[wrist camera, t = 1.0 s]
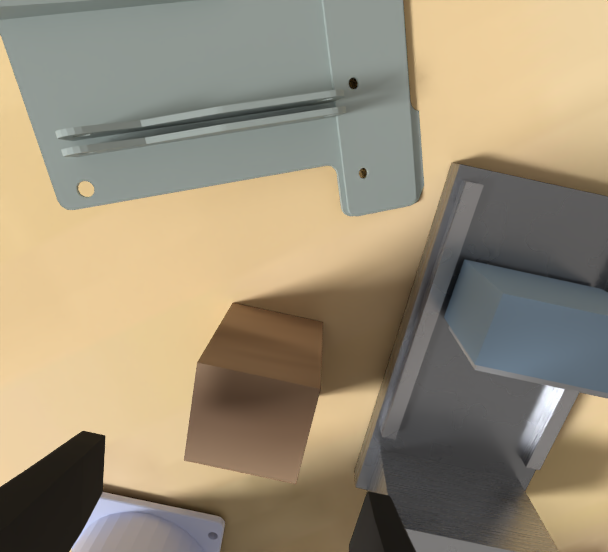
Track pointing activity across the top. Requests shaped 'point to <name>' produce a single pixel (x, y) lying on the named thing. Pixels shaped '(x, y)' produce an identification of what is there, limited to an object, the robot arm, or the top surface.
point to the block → (256, 393)
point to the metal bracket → (217, 95)
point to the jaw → (531, 327)
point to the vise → (476, 384)
